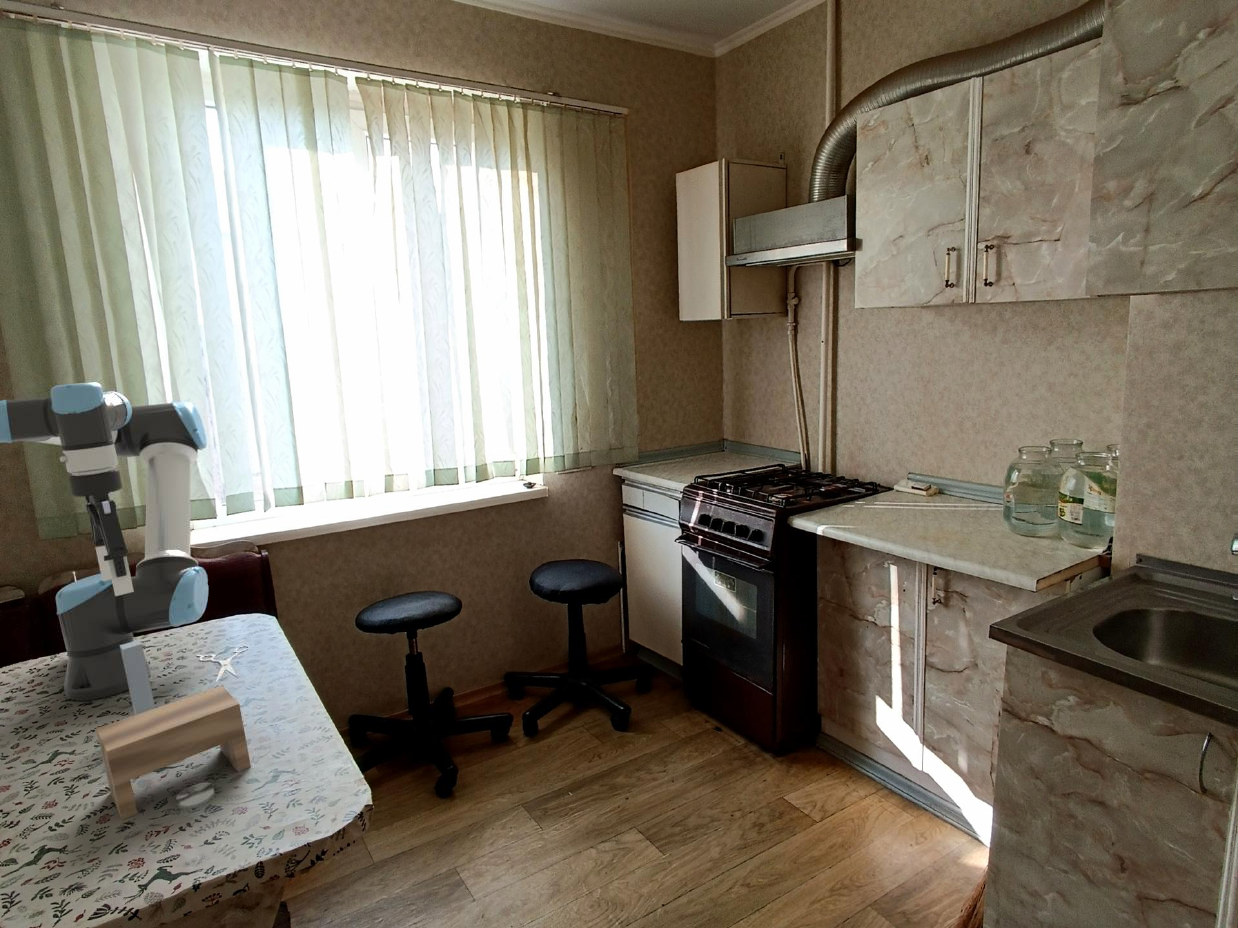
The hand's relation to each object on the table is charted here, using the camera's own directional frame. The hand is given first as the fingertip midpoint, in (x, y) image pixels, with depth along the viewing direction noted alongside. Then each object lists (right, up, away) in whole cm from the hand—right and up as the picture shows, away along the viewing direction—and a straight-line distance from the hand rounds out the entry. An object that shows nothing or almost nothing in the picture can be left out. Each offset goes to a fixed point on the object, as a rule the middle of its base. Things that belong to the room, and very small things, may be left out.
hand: (117, 586), depth 137 cm
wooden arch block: (+21, -28, -16) cm, 39 cm away
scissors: (+4, -22, +29) cm, 37 cm away
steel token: (+26, -29, -22) cm, 45 cm away
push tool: (+9, -27, -3) cm, 29 cm away
